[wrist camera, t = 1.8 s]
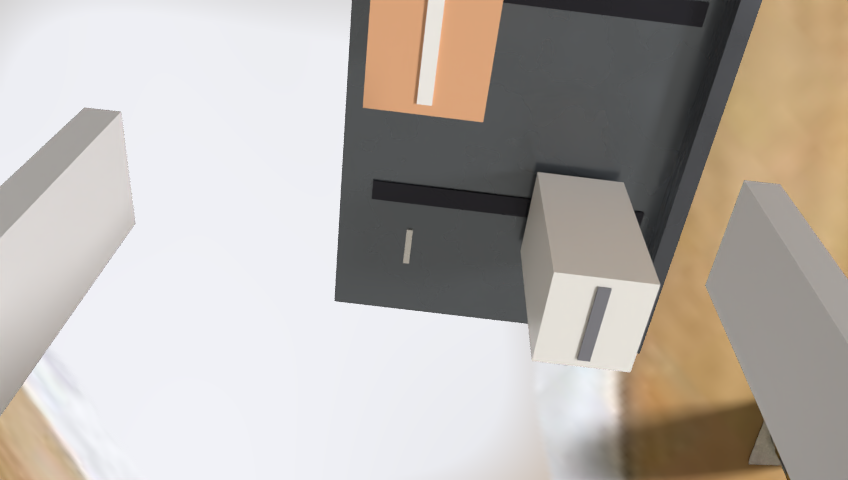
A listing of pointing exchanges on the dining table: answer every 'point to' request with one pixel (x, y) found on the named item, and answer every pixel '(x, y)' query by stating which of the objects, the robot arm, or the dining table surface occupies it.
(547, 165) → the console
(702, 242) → the dining table surface
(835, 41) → the dining table surface
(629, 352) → the fader ivory
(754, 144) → the dining table surface
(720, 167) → the dining table surface
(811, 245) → the robot arm
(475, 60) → the fader terracotta
